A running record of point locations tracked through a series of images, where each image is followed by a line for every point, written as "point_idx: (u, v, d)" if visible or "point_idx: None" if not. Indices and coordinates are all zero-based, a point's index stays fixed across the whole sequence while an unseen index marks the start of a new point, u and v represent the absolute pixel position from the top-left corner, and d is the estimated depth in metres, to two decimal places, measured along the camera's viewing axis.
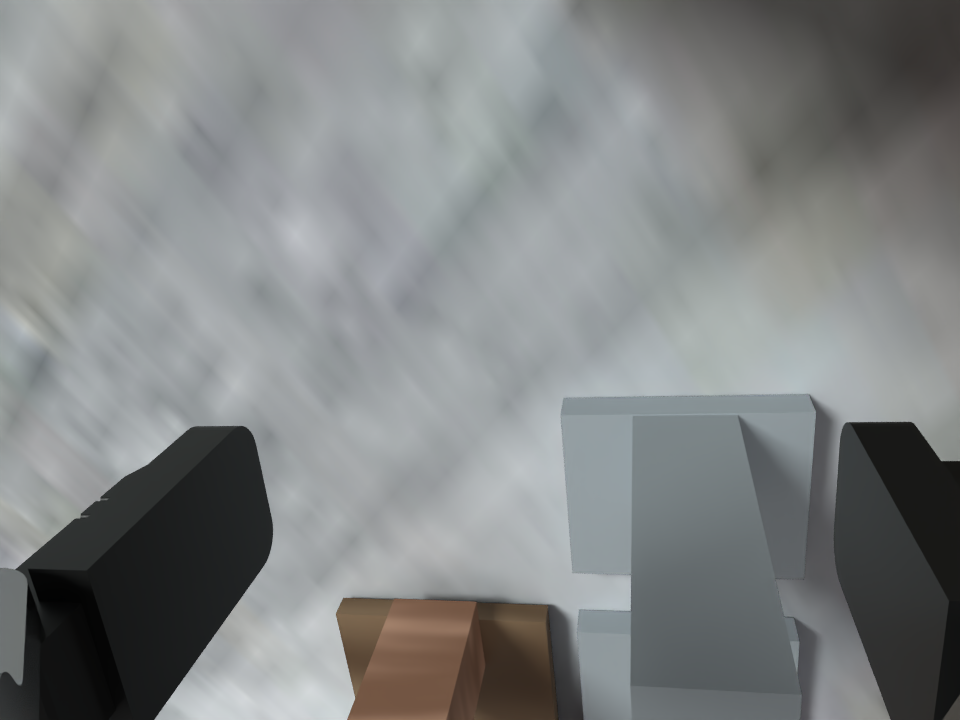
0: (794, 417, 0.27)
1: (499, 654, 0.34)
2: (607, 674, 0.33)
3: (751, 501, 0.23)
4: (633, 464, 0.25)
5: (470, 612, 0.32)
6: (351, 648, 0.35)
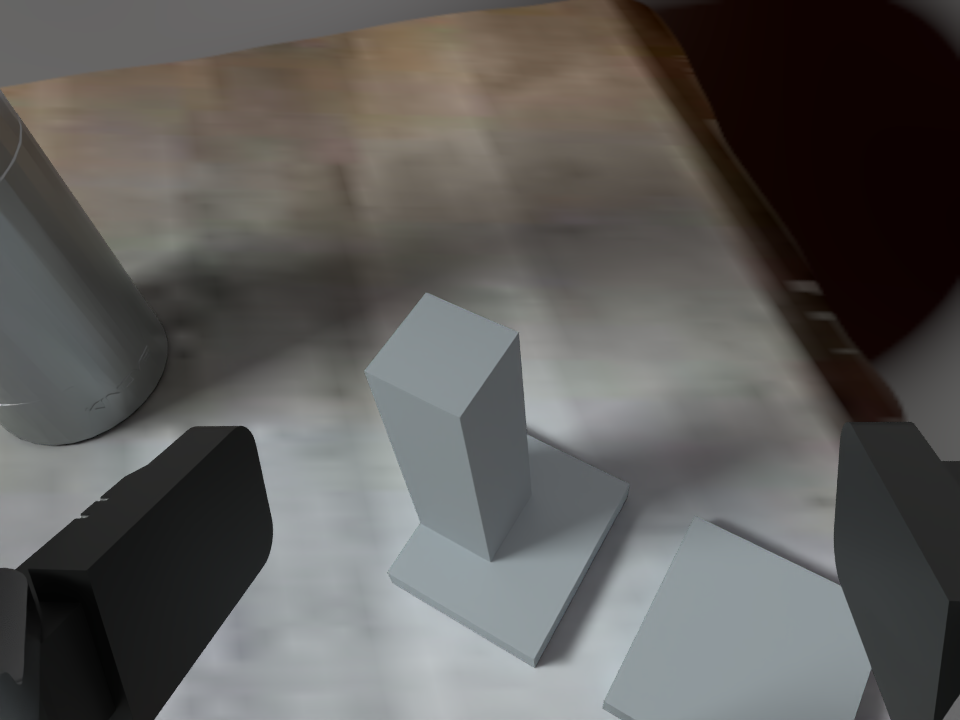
0: None
1: None
2: (671, 705, 0.30)
3: None
4: (410, 492, 0.32)
5: None
6: None
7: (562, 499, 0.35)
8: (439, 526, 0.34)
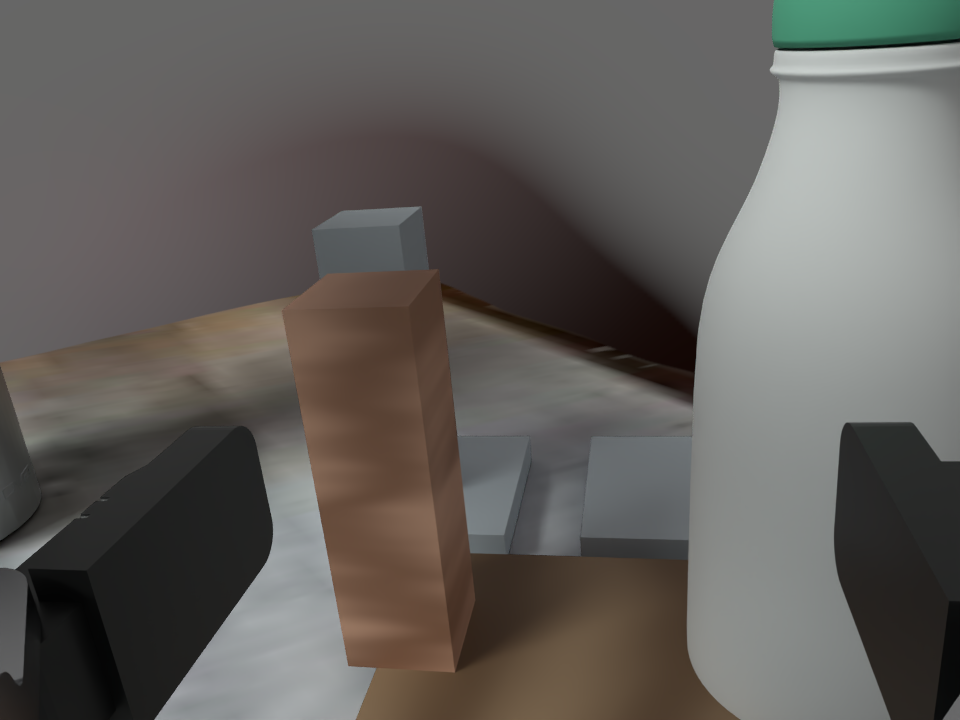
0: None
1: None
2: (638, 522, 0.32)
3: None
4: None
5: None
6: None
7: (479, 455, 0.38)
8: None
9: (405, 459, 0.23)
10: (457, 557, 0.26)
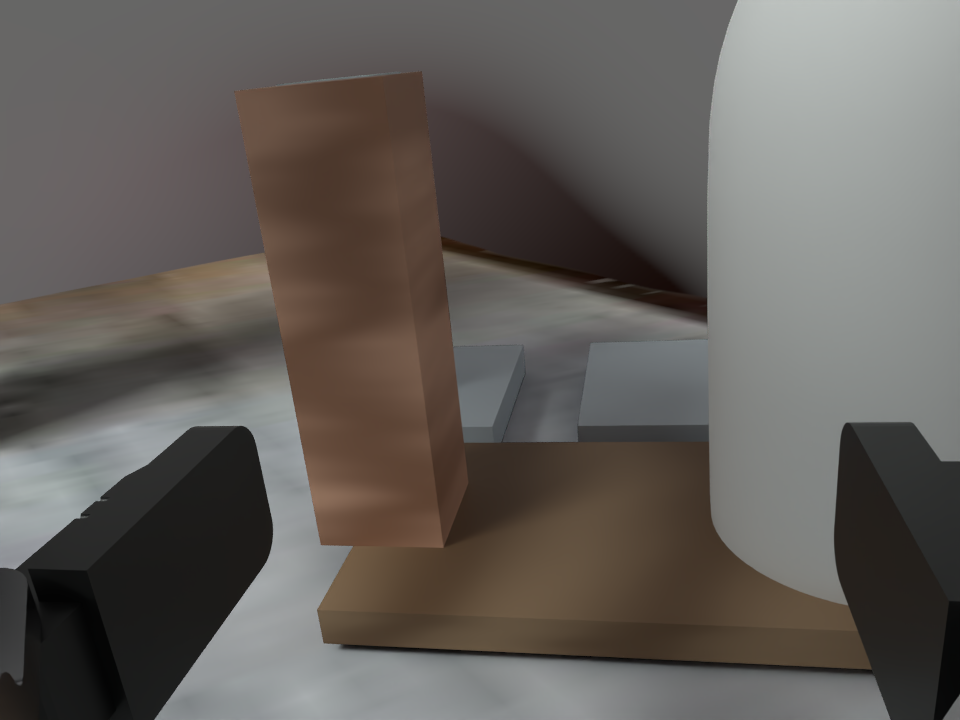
0: None
1: None
2: (642, 411, 0.29)
3: None
4: None
5: None
6: (397, 604, 0.20)
7: (467, 362, 0.35)
8: None
9: (382, 277, 0.19)
10: (446, 418, 0.22)
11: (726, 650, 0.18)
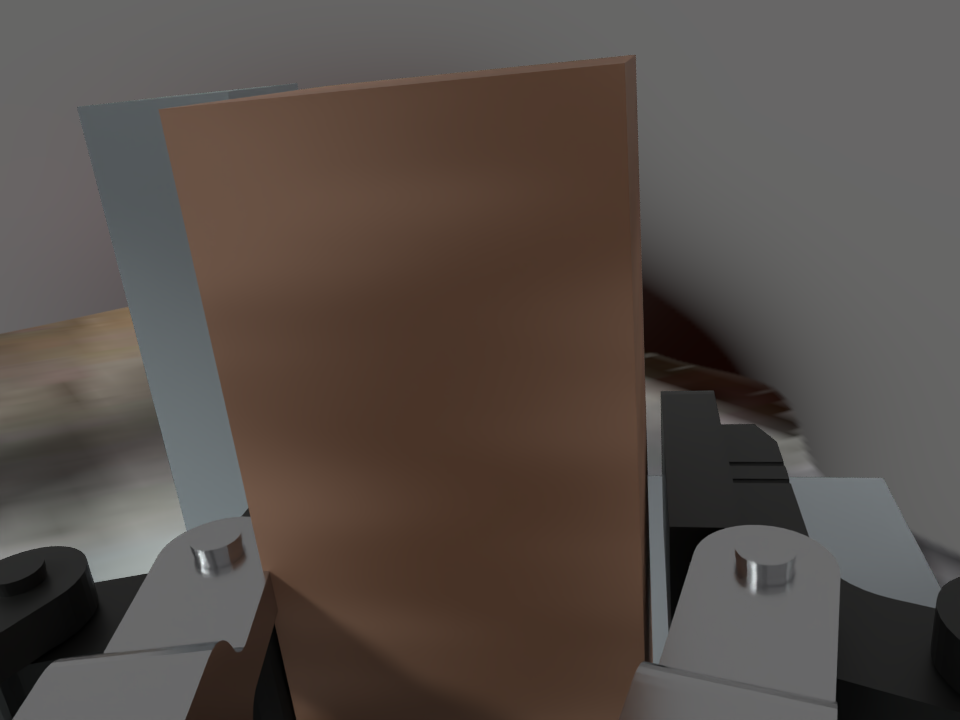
0: None
1: None
2: None
3: None
4: (174, 476, 0.20)
5: None
6: None
7: None
8: None
9: (567, 612, 0.07)
10: None
11: None
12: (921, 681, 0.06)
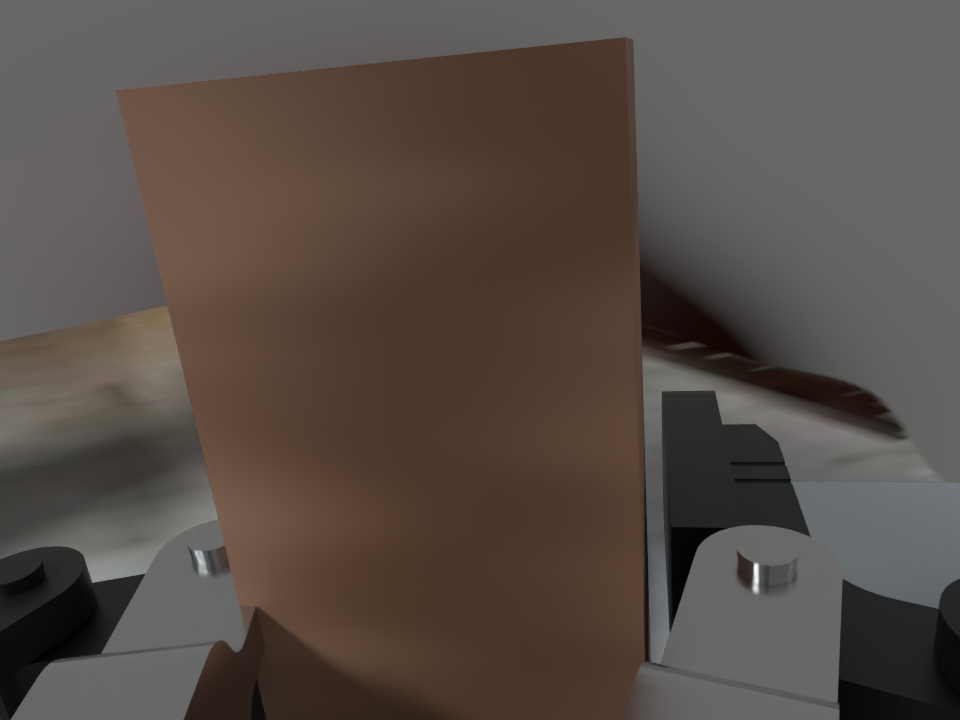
0: None
1: None
2: None
3: None
4: None
5: None
6: None
7: None
8: None
9: (563, 634, 0.07)
10: None
11: None
12: (923, 682, 0.06)
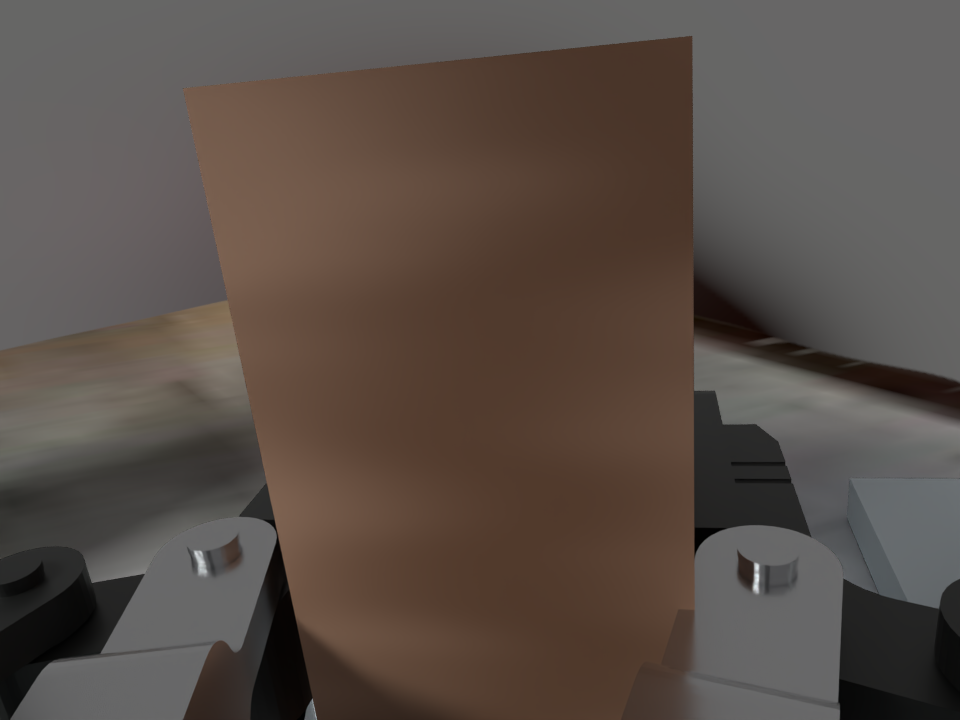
0: None
1: None
2: None
3: None
4: None
5: None
6: None
7: None
8: None
9: (613, 624, 0.07)
10: None
11: None
12: (924, 681, 0.06)
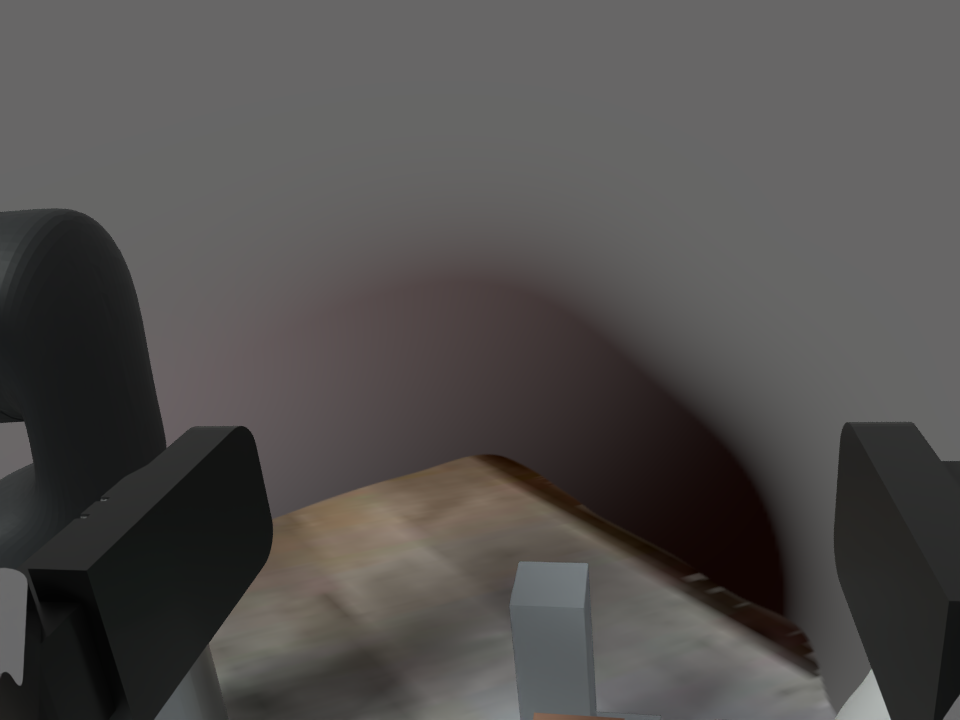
0: None
1: None
2: None
3: None
4: None
5: None
6: None
7: None
8: None
9: None
10: None
11: None
12: None
